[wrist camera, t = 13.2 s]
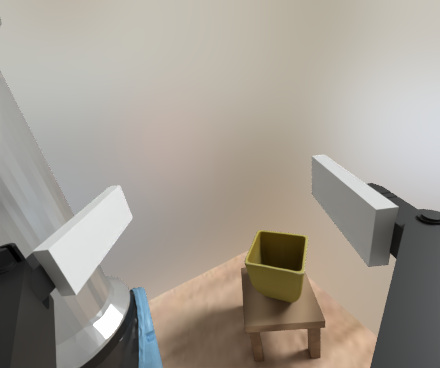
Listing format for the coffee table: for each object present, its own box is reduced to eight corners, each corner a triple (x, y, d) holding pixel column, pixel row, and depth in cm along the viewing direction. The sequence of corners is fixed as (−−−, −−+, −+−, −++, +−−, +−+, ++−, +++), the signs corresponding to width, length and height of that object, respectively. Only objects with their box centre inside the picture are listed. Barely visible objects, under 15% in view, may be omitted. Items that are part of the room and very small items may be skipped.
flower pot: (309, 274, 40) (308, 234, 37) (305, 317, 33) (304, 273, 30) (262, 265, 44) (257, 229, 41) (250, 303, 37) (243, 262, 33)
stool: (252, 364, 37) (244, 326, 34) (247, 302, 48) (241, 268, 44) (324, 360, 36) (325, 320, 32) (302, 297, 47) (301, 261, 43)
